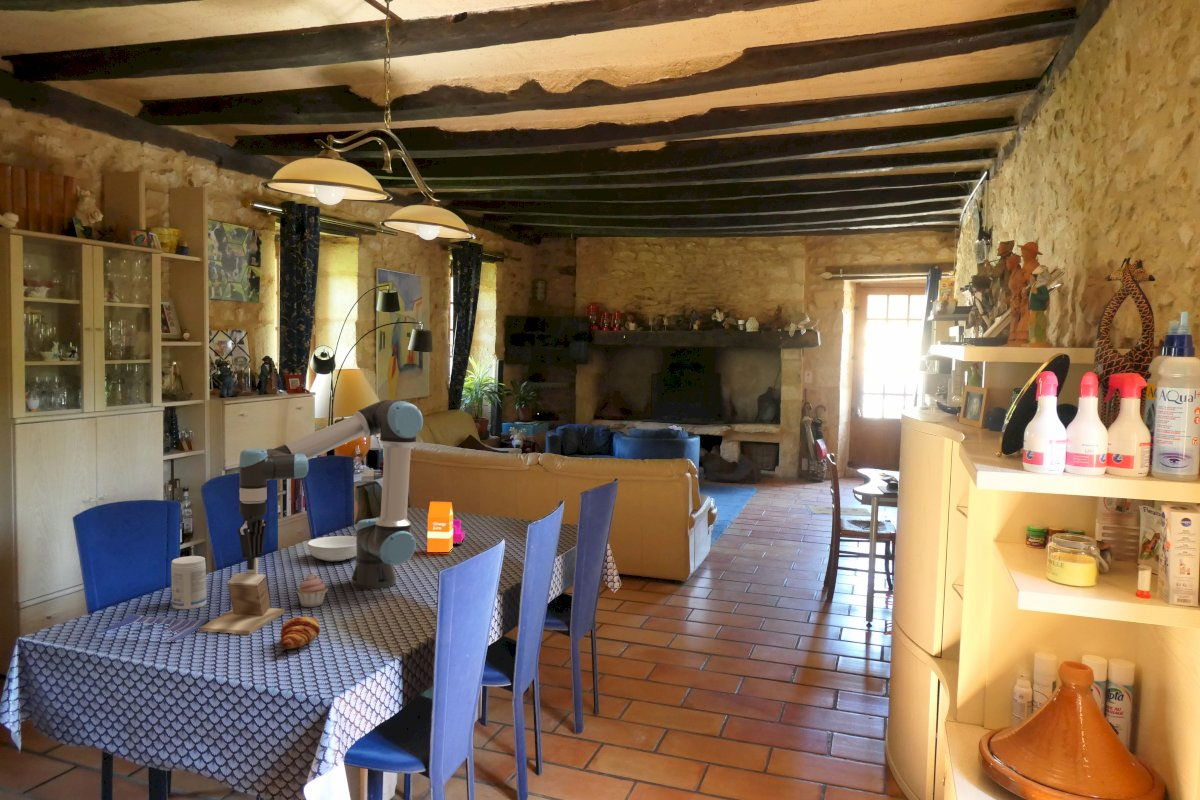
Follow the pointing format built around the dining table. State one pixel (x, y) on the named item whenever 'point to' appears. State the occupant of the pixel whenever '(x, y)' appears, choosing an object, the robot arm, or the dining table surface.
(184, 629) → the dish towel
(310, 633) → the croissant
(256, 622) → the board
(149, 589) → the dining table surface
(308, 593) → the cupcake
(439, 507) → the orange juice
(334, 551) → the serving bowl
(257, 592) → the wooden block
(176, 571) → the supplement tub
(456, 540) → the toy block
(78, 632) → the dining table surface
